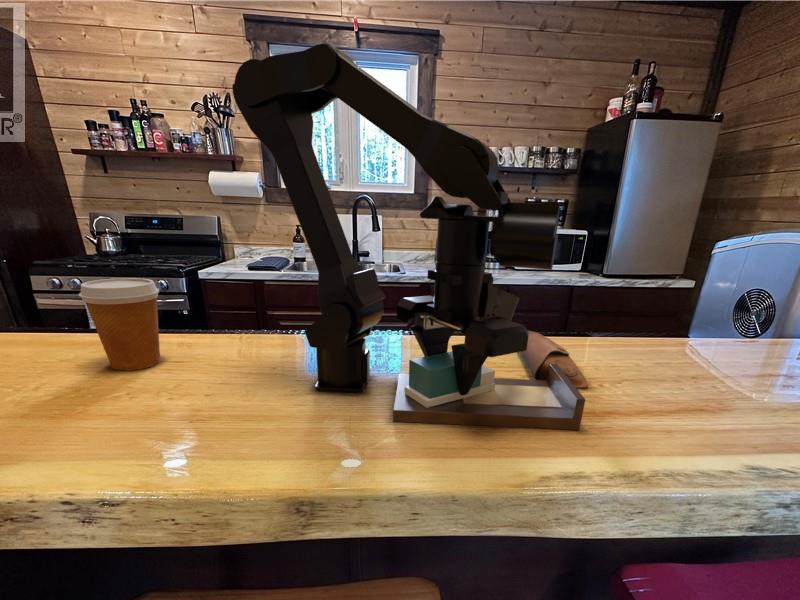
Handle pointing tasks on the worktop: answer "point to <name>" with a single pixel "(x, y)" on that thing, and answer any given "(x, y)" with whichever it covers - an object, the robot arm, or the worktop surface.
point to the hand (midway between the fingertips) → (450, 387)
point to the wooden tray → (503, 404)
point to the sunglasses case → (550, 359)
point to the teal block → (442, 380)
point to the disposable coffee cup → (125, 320)
